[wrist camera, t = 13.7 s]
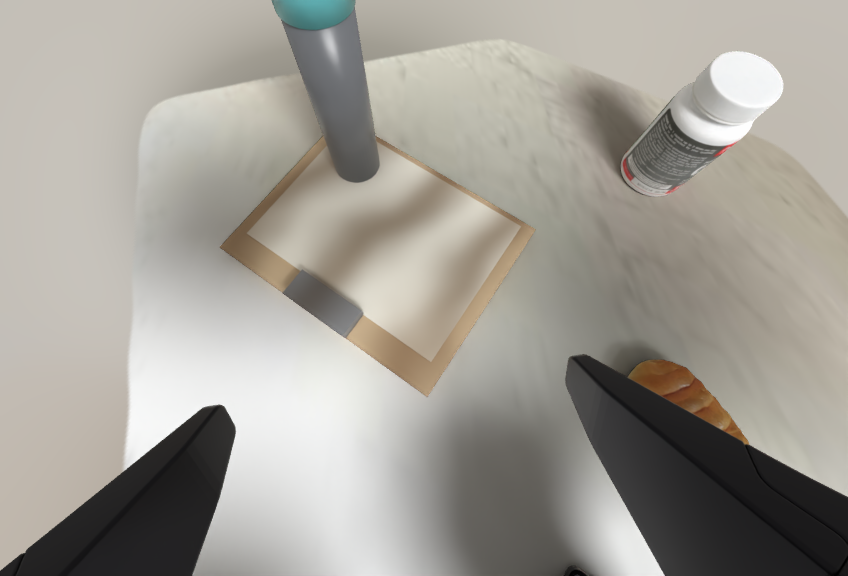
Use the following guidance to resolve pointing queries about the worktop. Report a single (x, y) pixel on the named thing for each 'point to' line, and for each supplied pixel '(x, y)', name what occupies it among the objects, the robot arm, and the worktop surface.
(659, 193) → the pill bottle
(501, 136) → the worktop surface
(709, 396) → the pastry
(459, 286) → the clipboard
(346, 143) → the ball
